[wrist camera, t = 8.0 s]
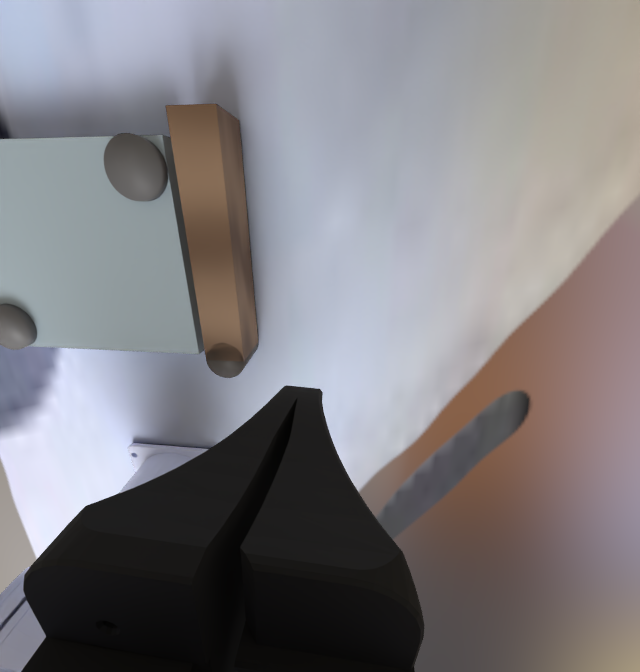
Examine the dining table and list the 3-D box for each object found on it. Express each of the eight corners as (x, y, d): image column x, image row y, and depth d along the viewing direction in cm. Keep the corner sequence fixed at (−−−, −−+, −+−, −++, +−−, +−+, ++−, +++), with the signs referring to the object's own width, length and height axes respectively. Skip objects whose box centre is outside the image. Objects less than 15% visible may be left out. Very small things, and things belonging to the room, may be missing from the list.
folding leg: (259, 357, 22) (245, 378, 20) (226, 355, 23) (208, 376, 20) (239, 120, 17) (215, 103, 14) (196, 121, 17) (165, 105, 14)
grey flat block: (215, 338, 22) (194, 358, 19) (38, 331, 24) (-6, 348, 21) (187, 143, 18) (154, 132, 15) (-32, 149, 19) (-99, 139, 16)
